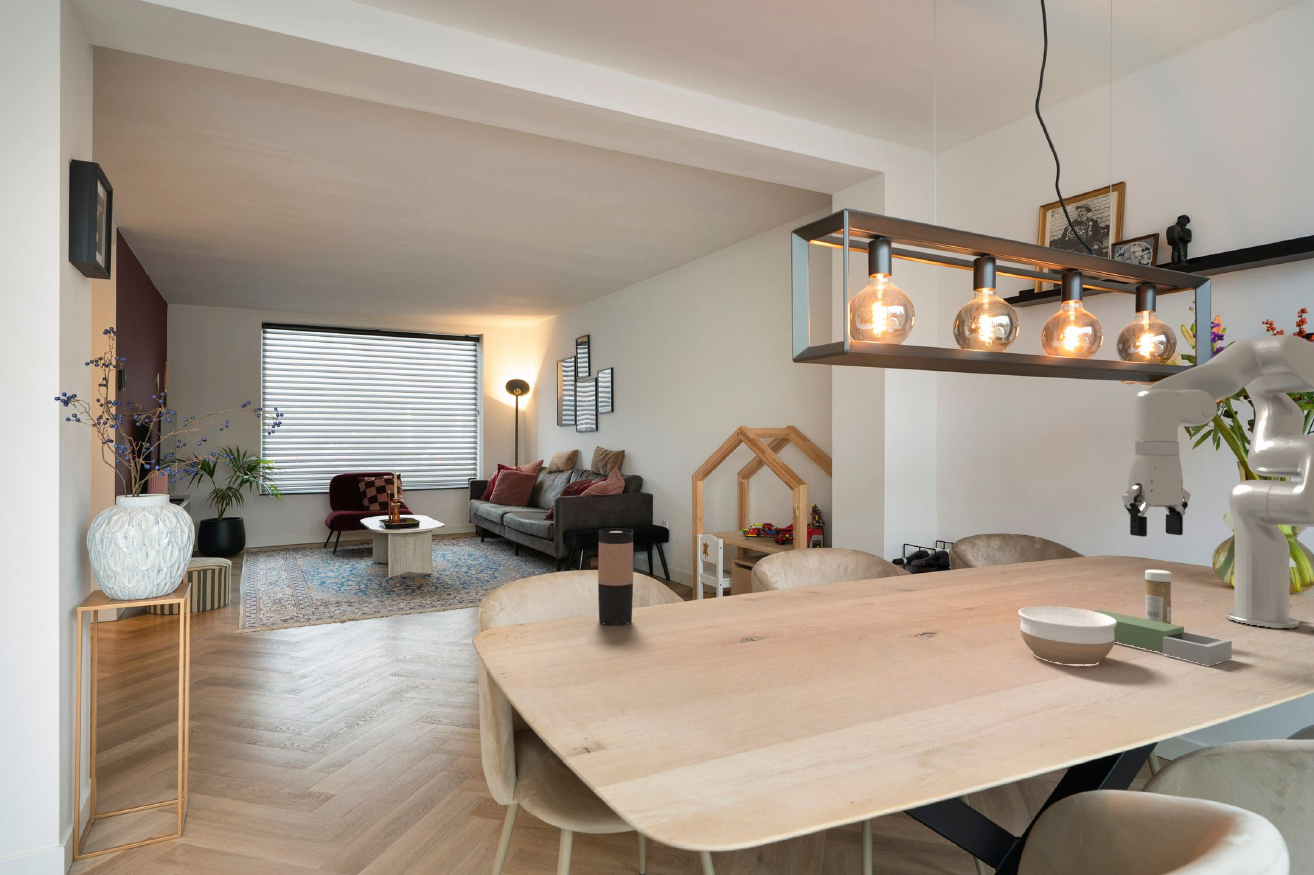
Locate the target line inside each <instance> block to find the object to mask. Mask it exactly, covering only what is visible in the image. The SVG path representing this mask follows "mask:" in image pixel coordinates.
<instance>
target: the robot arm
mask: <svg viewBox="0 0 1314 875" xmlns="http://www.w3.org/2000/svg"><path fill="white" fill-rule="evenodd" d="M1243 388H1244V389H1245V392H1246V393H1247V394H1248V397H1249V398H1250V400H1251V403H1252V405H1253V408H1254V411H1255V421H1254V426H1253V431H1252V435H1251V440H1250V445H1249V448H1248V454H1247V460H1246V462H1247V466H1248V468H1249V470H1250V471H1251V472H1252V473H1253V474H1256V475H1258V476H1264V477H1272V478H1294V479H1296V478H1297V479H1301V481H1285V480H1273V479H1272V480H1271V479H1267V480H1266V479H1249V480H1244V481H1240V482H1237V483H1236V484H1234V486H1232V488H1231V489H1230V491H1229V493H1228V494H1229V495H1228V504H1229V508H1230V513H1231V517H1232V522H1233V532H1234V534H1233V536H1234V556H1233V557H1234V577H1233V578H1234V584H1233V585H1234V587H1233V588H1234V590H1233V592H1234V600H1233V601H1234V603H1233V604H1234V610H1230V611H1226V612H1225V618H1226V617H1227V618H1228V619H1227V618H1226V619H1227V620H1229V619H1230V620H1229V621H1231V620H1234V621H1236V622H1235V623H1238V622H1241V623H1240V624H1242V623H1246V624H1245V625H1247V624H1250V625H1249V626H1252V625H1257V626H1256V627H1259V626H1265V627H1264V628H1267V627H1271V628H1270V629H1282V628H1289V629H1296V628H1295V627H1297V626H1298V627H1300V626H1299V625H1300V621H1299V620H1298V619H1295V618H1293V617H1290V611H1291V610H1292V608H1293V605H1292V603H1290V552H1291V549H1290V548H1291V547H1290V542H1289V541H1288V538H1287V536H1286V535H1285V534H1284V532H1283V531H1282V529H1281V528H1280V527H1279V526H1278V525H1280V526H1282V525H1283V526H1291V527H1292V526H1293V527H1305V528H1314V434H1303V433H1304V432H1303V431H1304V427H1305V421H1306V419H1305V414H1304V412H1303V410H1302V409H1301V407H1300V406H1299V405H1298V403H1296V402H1295V401H1294V400H1293V399H1292V398H1291V397H1290V396H1289V395H1288V394H1290V393H1291V394H1292V393H1307V392H1308V393H1310V392H1311V393H1312V392H1314V343H1313V342H1311V341H1310V340H1307V339H1305V338H1303V337H1300V336H1297V335H1294V334H1287V333H1285V334H1278V335H1276V334H1275V335H1268V336H1266V335H1265V336H1258V337H1248V338H1243V339H1239V340H1237V341H1234V342H1233V343H1231V344H1230V345H1229V346H1227V347H1226V348H1224V349H1223V350H1221V351H1220V352H1219V353H1217V354H1215V355H1214V356H1213V357H1212V358H1211V359H1209V360H1208V361H1206V362H1205V363H1203V364H1200V365H1197V366H1195V367H1191V368H1189V369H1187V370H1184V371H1181V372H1179V373H1176V374H1174V375H1171V376H1168V377H1165V378H1162V379H1161V380H1159V381H1157V382H1155V383H1153V384H1152V385H1151V386H1149V387H1148V388H1146V389H1145V390H1140V391H1138V393H1136V395H1135V401H1134V407H1133V410H1134V411H1133V412H1134V419H1135V420H1134V457H1132V458H1131V461H1130V462H1131V463H1130V467H1129V472H1128V483H1127V490H1126V491H1124V492H1123V493H1122V494H1121V498H1122V501H1123V503H1124V508H1125V509H1126V511H1127V514H1128V516H1129V518H1130V519H1129V534H1130V535H1131V536H1133V537H1135V536H1137V537H1147V536H1148V517H1147V516H1146V514H1147V511H1149V510H1148V509H1149V508H1150V507H1151V508H1158V507H1159V508H1162V507H1163V508H1165V510H1166V511H1167V513H1166V514H1165V534H1167V535H1173V536H1182V535H1183V534H1184V531H1183V530H1184V529H1183V528H1184V516H1185V514H1186V509H1187V508H1188V506H1189V501H1190V499H1191V496H1192V495H1191V492H1189V491H1187V490H1186V489H1185V488H1184V477H1183V471H1182V470H1183V468H1182V464H1181V463H1182V462H1181V458H1180V457H1181V456H1180V455H1181V454H1180V451H1181V450H1180V448H1181V447H1180V440H1181V439H1180V438H1181V436H1180V433H1181V432H1180V431H1181V430H1180V428H1181V427H1198V426H1203V425H1206V424H1208V423H1210V422H1211V421H1212V420H1213V419H1214V417H1216V415H1217V412H1218V404H1217V403H1218V402H1217V401H1218V400H1223V399H1226V398H1229V397H1232V396H1234V395H1236V394H1237V393H1239V391H1241V390H1242V389H1243ZM1234 621H1233V622H1234ZM1298 627H1297V628H1298Z"/></svg>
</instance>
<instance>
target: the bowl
mask: <svg viewBox="0 0 1314 875" xmlns="http://www.w3.org/2000/svg"><path fill="white" fill-rule="evenodd" d="M1093 611H1094V610H1088V609H1082V608H1075V607H1066V606H1057V605H1056V606H1055V605H1054V606H1053V605H1052V606H1051V605H1041V606H1040V605H1037V606H1036V605H1035V606H1025V607H1022V608H1020V609H1019V610H1018V612H1017V613H1018V615H1019V616H1018V617H1019V618H1020V633H1021V634H1020V635H1021V638H1022V640H1023V641H1024V643H1025V645H1026V646H1027V647H1028V648H1029V649H1030V650H1031V651H1032V652H1033V655H1034V654H1035V655H1036V656H1038V657H1040V658H1042V659H1046V660H1048V661H1052V662H1059V663H1062V664H1083V665H1084V664H1096V663H1098V662H1100V663H1101V661H1102V660H1103V659H1104V658H1106V656H1109V653H1110V652H1111V651H1112V649H1113V648H1114V645H1115V644H1114V639H1115V636H1114V629H1115V626H1116V624H1117V621H1116V620H1115V619H1114V618H1112V617H1110V616H1108V615H1105V614H1101V613H1098V612H1093Z"/></svg>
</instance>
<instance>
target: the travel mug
mask: <svg viewBox="0 0 1314 875" xmlns="http://www.w3.org/2000/svg"><path fill="white" fill-rule="evenodd" d="M597 560H598V565H597V566H598V569H597V571H598V572H597V574H598V576H597V577H598V578H597V582H598V584H597V586H598V588H597V589H598V590H597V591H598V592H597V593H598V622H599V624H601V623H604V624H608V625H607V626H610V625H620V626H624V625H623V624H627V623H629V624H631V623H632V619H633V618H632V617H633V595H634V593H633V592H634V531H633V529H629V528H602V529H600V530H598V559H597ZM630 622H631V623H630ZM604 624H603V625H604ZM627 625H628V624H627Z"/></svg>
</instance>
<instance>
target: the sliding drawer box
mask: <svg viewBox="0 0 1314 875" xmlns="http://www.w3.org/2000/svg"><path fill="white" fill-rule="evenodd" d="M1092 611H1093V612H1098V613H1101V614H1105V615H1108V616H1110V617H1112V618H1114V619H1115V620H1116V621H1117V624H1116V626H1115V629H1114V636H1115V639H1114V642H1119V643H1122V644H1127V645H1133V646H1135V647H1140V648H1145V649H1147V650H1152V651H1158V652H1160V653H1163V654H1167V655H1169V656H1174V657H1179V658H1181V659H1186V660H1189V661H1193V662H1198V663H1200V664H1205V665H1212V664H1216V663H1218V662H1222V663H1224V662H1223V661H1226V662H1228V661H1227V660H1229V659H1232V658H1233V657H1232V654H1233V652H1232V650H1233V649H1232V641H1233V640H1229V639H1224V638H1220V637H1215V636H1210V635H1206V634H1205V635H1204V634H1201V633H1196V632H1189V631H1185V626H1182V625H1176V624H1172V623H1171V624H1168V623H1163V622H1157V621H1152V620H1147V619H1146V618H1142V617H1136V616H1131V615H1127V614H1123V613H1122V614H1121V613H1117V612H1111V611H1106V610H1102V609H1097V610H1092ZM1229 661H1230V660H1229ZM1200 664H1199V665H1200ZM1216 665H1217V664H1216ZM1212 666H1213V665H1212Z"/></svg>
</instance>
